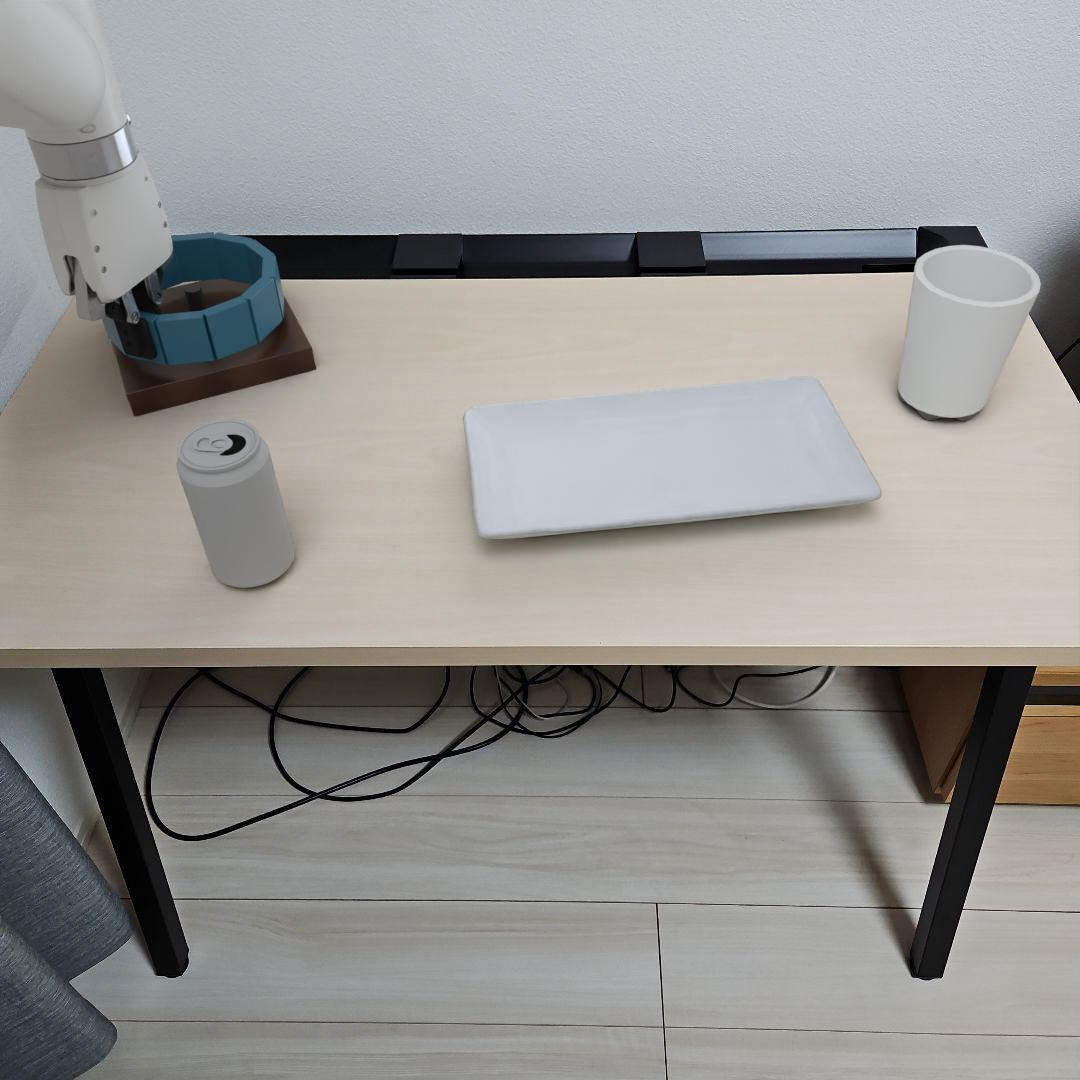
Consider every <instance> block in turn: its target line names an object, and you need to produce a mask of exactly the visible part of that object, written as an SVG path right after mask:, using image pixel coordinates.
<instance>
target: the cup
mask: <svg viewBox="0 0 1080 1080" xmlns="http://www.w3.org/2000/svg"><path fill="white" fill-rule="evenodd" d="M1041 285H1042V283H1041V280H1040V276H1039V275H1038V273H1037V272H1036V271H1035V269H1033V267H1032V266H1030V265H1029V264H1028V263H1027V262H1026V261H1024V260H1023V259H1021V258H1019V257H1017V256H1015V255H1012V254H1010V253H1008V252H1004V251H1002V250H999V249H995V248H991V247H985V246H981V245H972V244H971V245H970V244H955V245H947V246H943V247H938V248H934V249H932V250H929V251H927V252H925V253H923V254H922V255H921V256H920V257H918V258H917V259H916V262H915V265H914V270H913V277H912V284H911V291H910V297H909V304H908V311H907V317H906V323H905V324H906V325H905V332H904V339H903V344H902V345H903V347H902V353H901V359H900V367H899V372H898V373H899V374H898V379H897V380H898V381H897V395H898V399H899V400H900V401H901V402H903V403H906V404H908V405H909V406H911V407H912V408H913V409H914V410H915V411H917V412H918V414H919V415H920V416H921V417H922V418H923V419H924V420H926V421H934V420H937V419H949V418H950V419H956V420H958V421H961V422H962V421H963V422H967V421H969V420H971V419H972V418H973V417H974V416H976V415H977V413H979V412H980V411H981V410H982V409H983V408H984V407H985V406H986V405H987V403H988V401H989V398H990V397H991V394H992V392H993V390H994V388H995V386H996V384H997V382H998V380H999V377H1000V375H1001V374H1002V371H1003V369H1004V367H1005V365H1006V363H1007V360H1008V358H1009V356H1010V355H1011V352H1012V350H1013V348H1014V346H1015V344H1016V342H1017V340H1018V338H1019V335H1020V333H1021V331H1022V329H1023V327H1024V325H1025V323H1026V321H1027V318H1028V317H1029V314H1030V312H1031V310H1032V308H1033V306H1034V304H1035V302H1036V300H1037V298H1038V296H1039V293H1040V290H1041Z"/></svg>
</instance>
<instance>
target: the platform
mask: <svg viewBox="0 0 1080 1080" xmlns="http://www.w3.org/2000/svg"><path fill="white" fill-rule="evenodd" d="M251 286H252V284H247V283H242V282H236V281H231V280H226V279H215V280H205V281H194V282H188V283H185V284H179V285H175V286H173V287H170V288H167V289H164V290H161V291H162V295H163V300H162V303H161V304H160V305H158V307H160V309H161V312H162V314H173V313H183V312H193V311H202V310H205V309H208V308H210V307H213V306H216V305H218V304H221V303H224V302H226V301H229V300H232V299H234V298H237V297H240V296H241V295H242V294H243V293H244V292H245V291H247V290H248V289H249V288H250V287H251ZM283 295H284V293H283ZM110 342H111V346H112V350H113V353H114V357H115V360H116V363H117V367H118V371H119V374H120V377H121V381H122V385H123V388H124V392H125V395H126V398H127V400H128V403H129V406H130V409H131V412H132V415H133V416H134V417H137V416H141V415H145V414H150V413H153V412H157V411H161V410H164V409H169V408H173V407H176V406H180V405H184V404H187V403H191V402H194V401H199V400H202V399H207V398H211V397H214V396H218V395H222V394H226V393H230V392H234V391H237V390H241V389H245V388H249V387H254V386H257V385H260V384H264V383H268V382H272V381H273V382H274V381H276V380H281V379H284V378H286V377H292V376H295V375H296V376H297V375H300V374H303V373H307V372H311V371H315V370H317V365H316V359H315V355H314V351H313V347H312V345H311V343H310V341H309V339H308V337H307V336H306V333H305V331H304V330H303V328H302V326H301V324H300V322H299V320H298V318H297V316H296V315H295V312H294V311H293V310H292V307H291V305H290V304H289V301H288V299H287V298H286V296H285V295H284V319H282V322H281V323H280V324H279V325H278V326H276V327H275V328H274V329H273V330H272V331H271V332H270V333H269V334H268V335H267V336H266V337H265V338H264V339H263V340H262V341H261V342H257V344H256V345H254V346H251V347H249V348H246V349H244V350H241V351H239V352H236V353H234V354H231V355H229V356H226V357H224V358H221V359H219V360H218V359H217V358H216V357H215V358H214V361H206V362H196V363H186V364H176V365H169V364H168V363H167V364H166V365H162V364H158V363H153V362H149V361H144V360H140V359H135V358H131V357H128V355H127V356H126V355H125V354H124V353H123V352H122V351H121V350H120V349H119V348H118V347H117V346H116V345H115V344H114V343H113V342H112V341H111V340H110Z"/></svg>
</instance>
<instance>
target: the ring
mask: <svg viewBox="0 0 1080 1080" xmlns="http://www.w3.org/2000/svg"><path fill="white" fill-rule="evenodd" d="M171 238H172V244H173V251H172V253H173V258H172V260H171V262H170V264H169V265H168V267H167V268H166V270H165V271H164V272H163V278H162V282H161V286H160V287H161V290H164V289H167V288H172V287H176V286H179V285H182V284H184V283H194V282H198V281H205V280H215V279H226V280H231V281H236V282H242V283H247V284H252V286H251V287H250V288H249V289H248V290H247V291H245V292H244V293H243V294H242V295H241V296H240V297H237V298H234V299H232V300H229V301H226V302H224V303H221V304H218V305H216V306H213V307H210V308H208V309H205V310H202V311H193V312H183V313H173V314H162V315H157V314H152V313H147V312H142V311H139V314H140V317H142V318H146V320H147V323H148V326H149V329H150V332H151V335H152V339H153V342H154V345H155V348H156V351H157V357H155V358H154V359H153V360H149V359H145V358H140V357H136V356H131V355H128V357H131V358H135V359H140V360H144V361H149V362H153V363H158V364H162V365H166V364H167V363H168V364H169V365H176V364H186V363H196V362H206V361H214V358H215V357H216V358H217V359H218V360H219V359H221V358H224V357H226V356H229V355H231V354H234V353H236V352H239V351H241V350H244V349H246V348H249V347H251V346H254V345H256V344H257V342H261V341H262V340H263V339H264V338H265V337H266V336H267V335H268V334H269V333H270V332H271V331H272V330H273V329H274V328H275V327H276V326H278V325H279V324H280V323H281V322H282V319H284V296H285V295H283V294H284V291H283V285H282V280H281V275H280V271H279V265H278V262H277V260H278V259H277V256H276V255H275V253H274V252H272V251H271V250H269V249H268V248H267V247H266V246H264V245H262V244H261V243H260V242H258V241H257V240H256V239H253V238H252V237H247V236H241V235H235V234H229V233H224V232H216V233H215V232H214V231H210V232H198V233H187V234H177V235H176V234H175V235H171ZM115 302H116V303H118V304H120V302H119V300H118V299H116V300H115ZM101 320H102V323H103V326H104V329H105V332H106V335H107V338H108V339H109V340H110V342H111V341H112V342H113V343H114V344H115V345H116V346H117V347H118V348H119V349H120V350H121V351H122V352H123V353H124V354H125V355H126V356H127V354H126V353H125V352H124V350H123V347H122V344H121V341H120V338H119V335H118V332H117V329H116V326H115V323H114V320H112V319H108V318H103V319H101Z"/></svg>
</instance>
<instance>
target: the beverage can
mask: <svg viewBox="0 0 1080 1080" xmlns="http://www.w3.org/2000/svg"><path fill="white" fill-rule="evenodd" d="M260 435H261V434H260V433H259V430H258V429H257V427H255V426H254V425H253V424H251V423H249V422H247V421H245V420H241V419H236V418H235V419H234V418H223V419H216V420H211V421H207V422H204V423H202V424H200V425H197V426H195V427H194V428H192V429H191V430H189V431H188V432H187V433H185V435H183V437H182V438H181V439H180V440H179V443H178V445H177V447H176V448H177V449H176V453H177V460H176V472H177V474H178V477H179V480H180V483H181V486H182V489H183V493H184V494H185V497H186V501H187V503H188V506H189V509H190V512H191V515H192V518H193V520H194V523H195V526H196V529H197V531H198V535H199V539H200V542H201V544H202V547H203V549H204V552H205V555H206V558H207V561H208V564H209V567H210V570H211V572H212V574H213V575H214V577H215V578H216V579H217V580H218V581H220V582H221V583H222V584H224V585H227V586H230V587H233V588H241V589H247V588H255V587H260V586H264V585H267V584H270V583H271V582H273V581H275V580H277V579H278V578H279V577H281V576H282V575H283V574H285V573H286V572H287V570H288V569H289V568H290V567H291V565H292V564H293V561H294V558H295V555H296V554H295V553H296V550H295V544H294V540H293V536H292V532H291V528H290V525H289V520H288V516H287V513H286V509H285V505H284V502H283V497H282V495H281V490H280V485H279V482H278V478H277V475H276V474H277V473H276V471H275V467H274V463H273V460H272V456H271V452H270V448H269V445H268V443H267V442H266V440H265V439H264V438H263V437H262V436H260Z"/></svg>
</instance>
